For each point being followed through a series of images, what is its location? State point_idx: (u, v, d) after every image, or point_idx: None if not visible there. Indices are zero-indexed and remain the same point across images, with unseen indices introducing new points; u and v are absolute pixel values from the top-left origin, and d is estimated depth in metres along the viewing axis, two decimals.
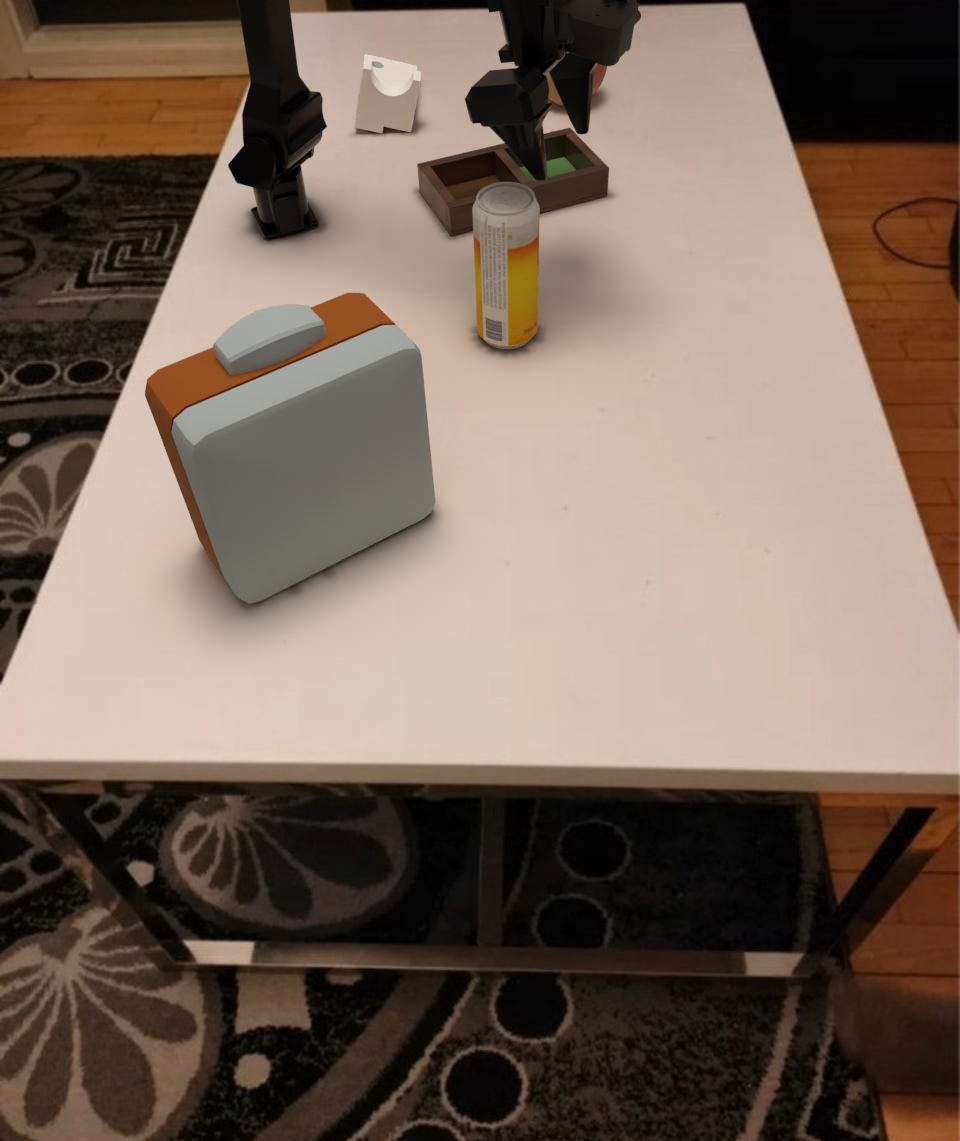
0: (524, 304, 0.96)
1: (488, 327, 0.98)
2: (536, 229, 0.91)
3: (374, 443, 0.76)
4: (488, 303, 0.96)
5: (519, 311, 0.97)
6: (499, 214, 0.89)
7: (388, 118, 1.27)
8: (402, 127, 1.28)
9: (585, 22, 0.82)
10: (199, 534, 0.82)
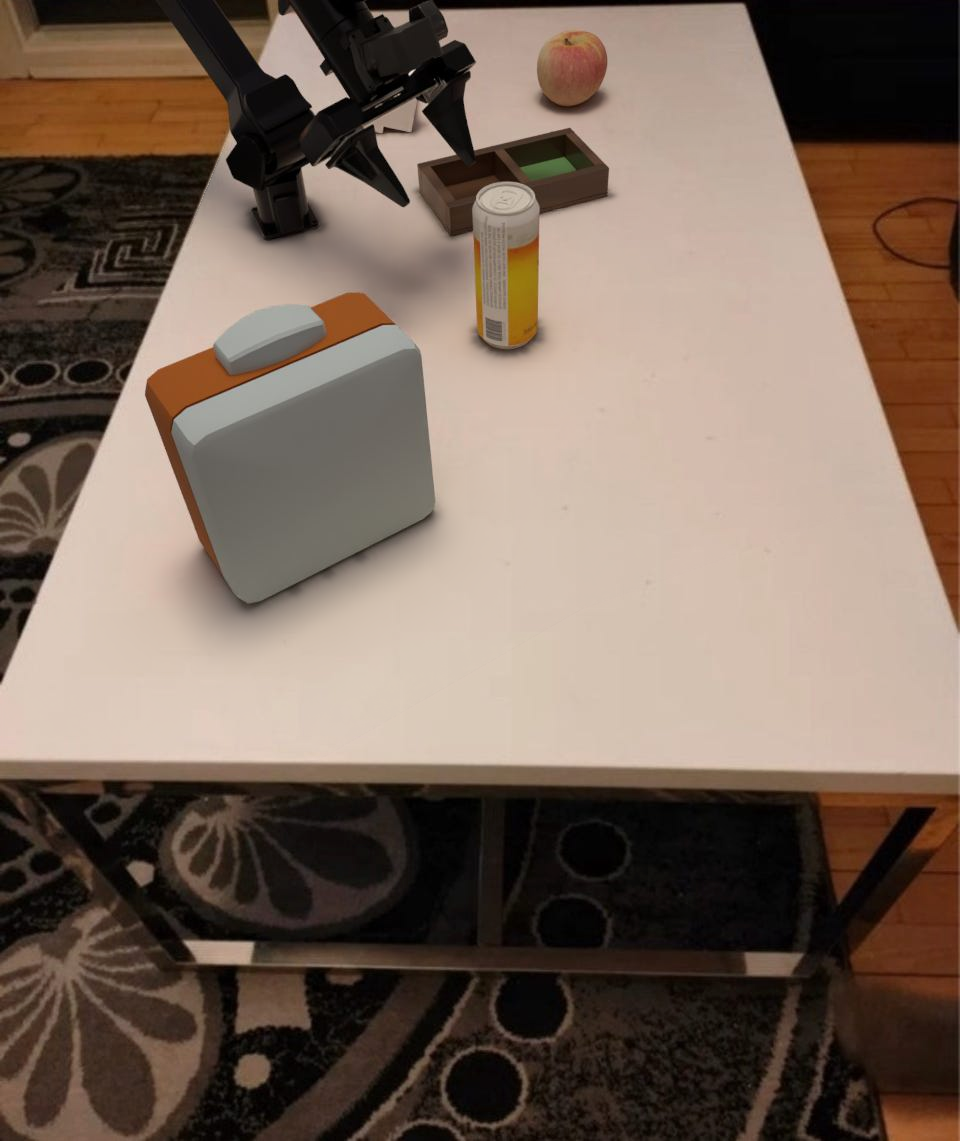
0: (524, 304, 0.96)
1: (488, 327, 0.98)
2: (535, 229, 0.91)
3: (374, 443, 0.76)
4: (488, 303, 0.96)
5: (519, 311, 0.97)
6: (499, 214, 0.89)
7: (388, 118, 1.27)
8: (402, 127, 1.28)
9: (376, 41, 0.86)
10: (199, 534, 0.82)
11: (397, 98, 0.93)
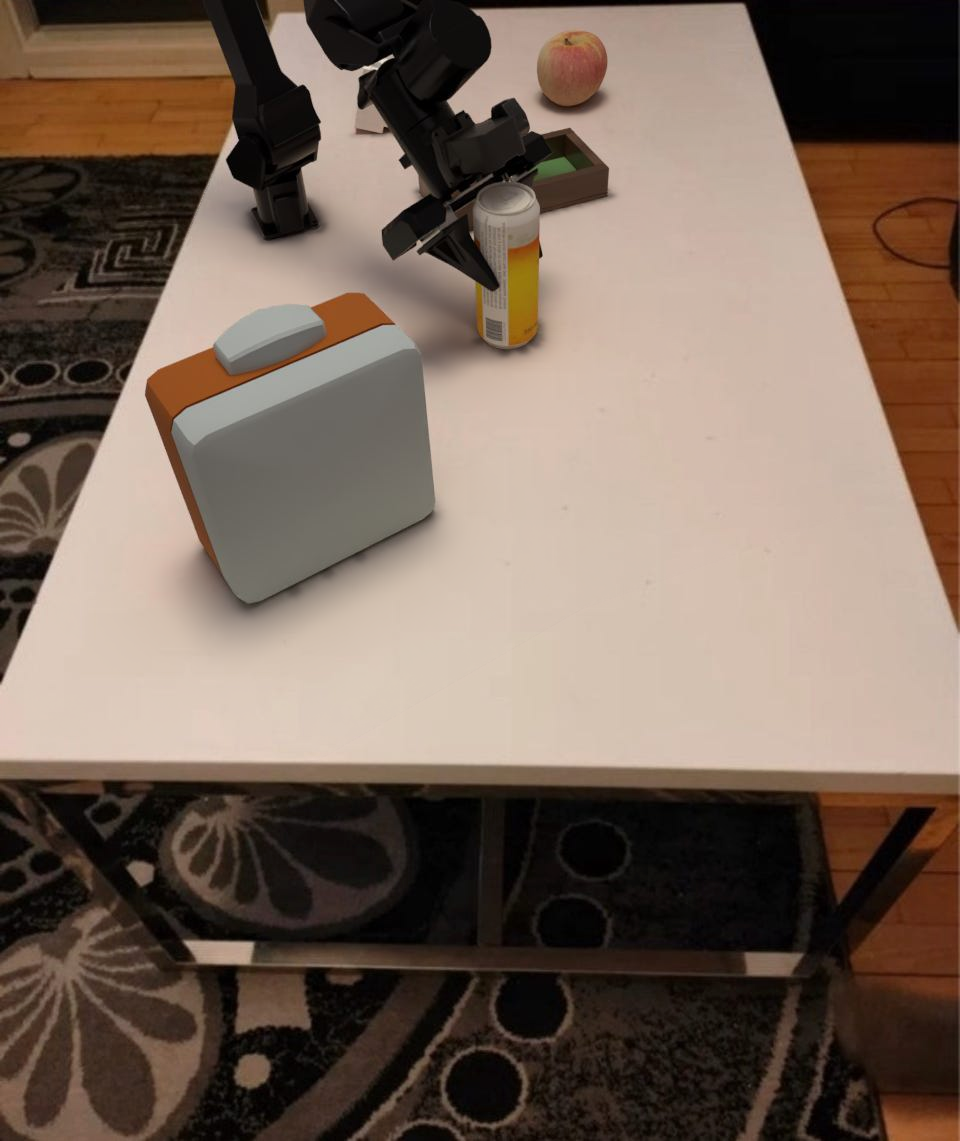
0: (524, 304, 0.96)
1: (489, 327, 0.99)
2: (536, 229, 0.91)
3: (374, 443, 0.76)
4: (489, 303, 0.96)
5: (519, 311, 0.97)
6: (499, 214, 0.89)
7: None
8: None
9: (460, 141, 0.87)
10: (199, 534, 0.82)
11: (466, 197, 0.93)
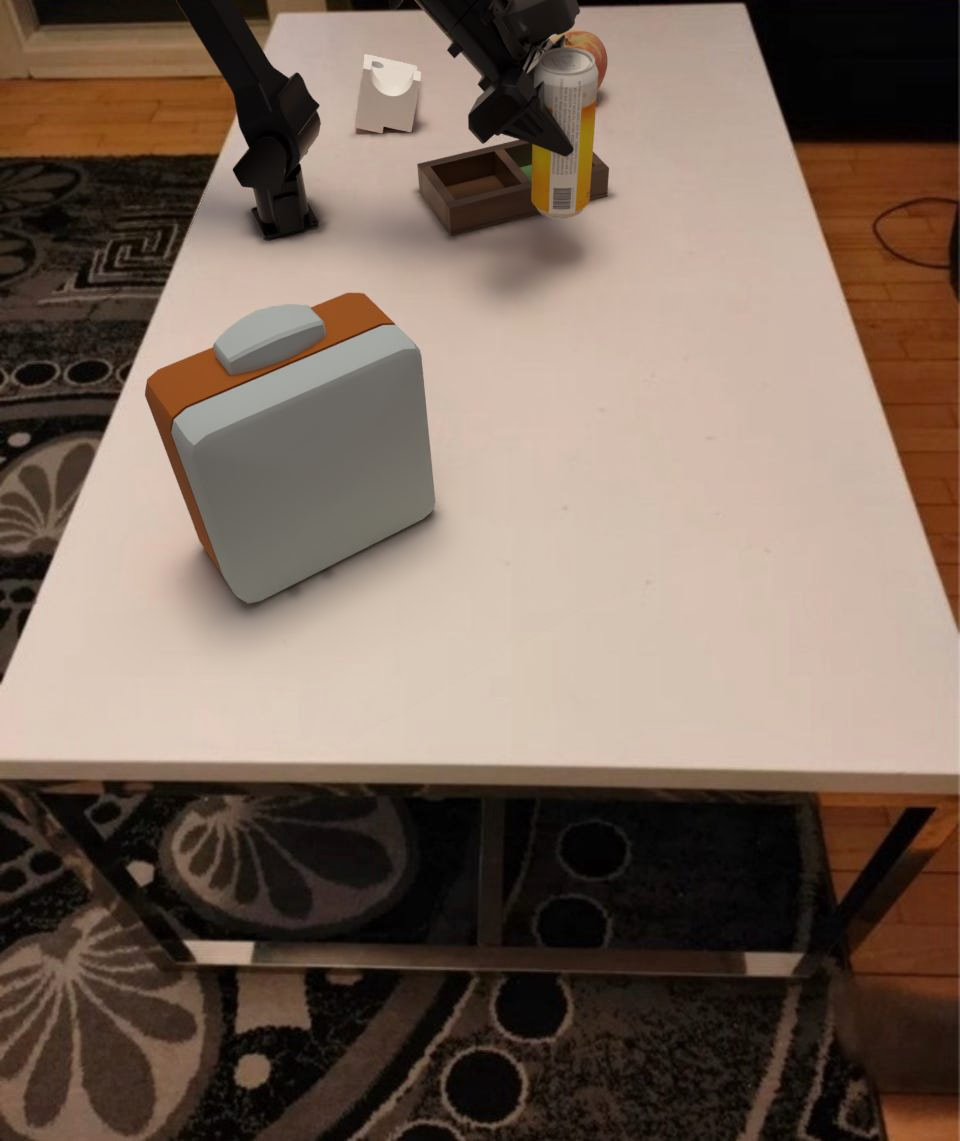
0: (588, 164, 1.01)
1: (557, 198, 1.02)
2: None
3: (374, 443, 0.76)
4: (558, 172, 1.00)
5: (585, 173, 1.01)
6: (574, 73, 0.93)
7: (388, 118, 1.27)
8: (402, 127, 1.28)
9: (530, 8, 0.90)
10: (199, 534, 0.82)
11: None
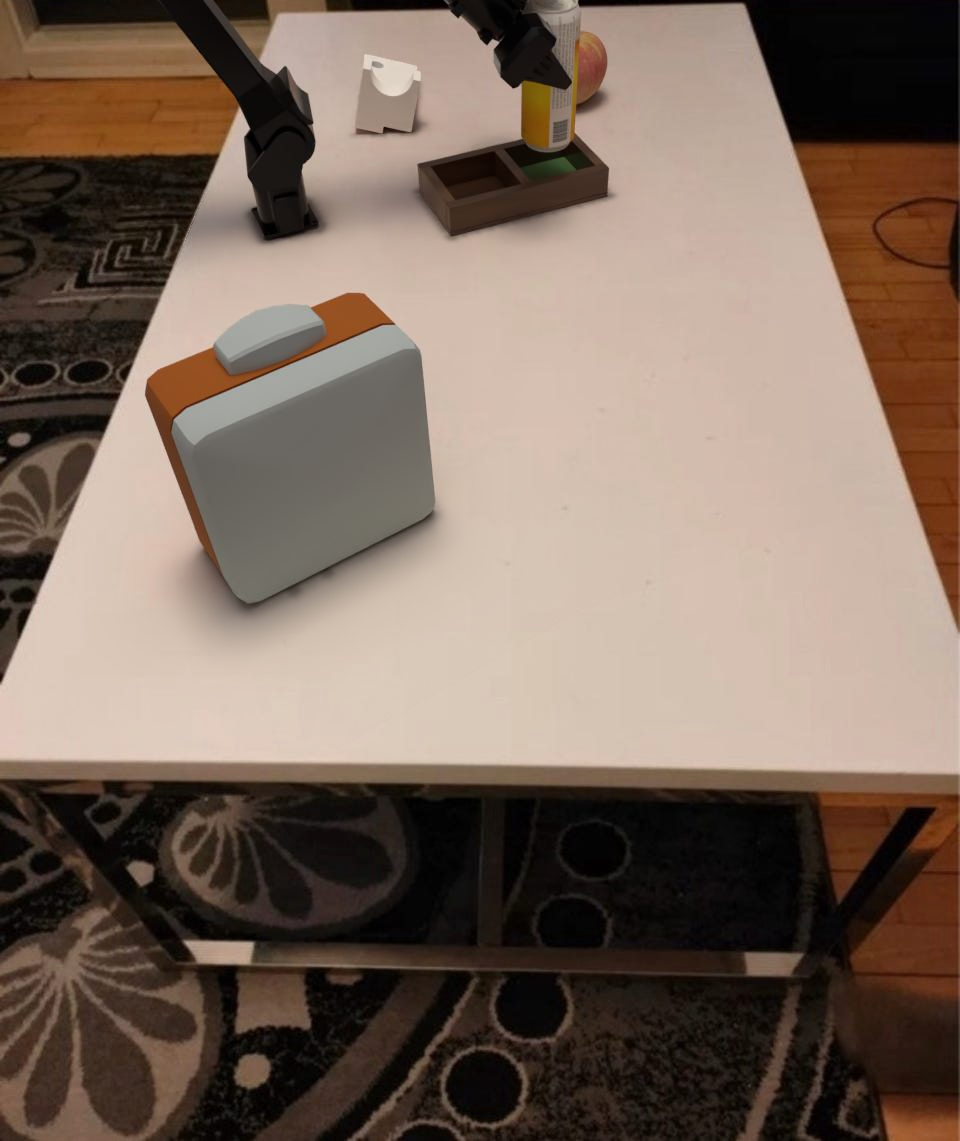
0: (576, 95, 1.11)
1: (556, 131, 1.12)
2: None
3: (374, 443, 0.76)
4: (558, 106, 1.10)
5: (575, 103, 1.11)
6: (569, 10, 1.03)
7: (388, 118, 1.27)
8: (402, 127, 1.28)
9: None
10: (199, 534, 0.82)
11: (513, 20, 1.04)
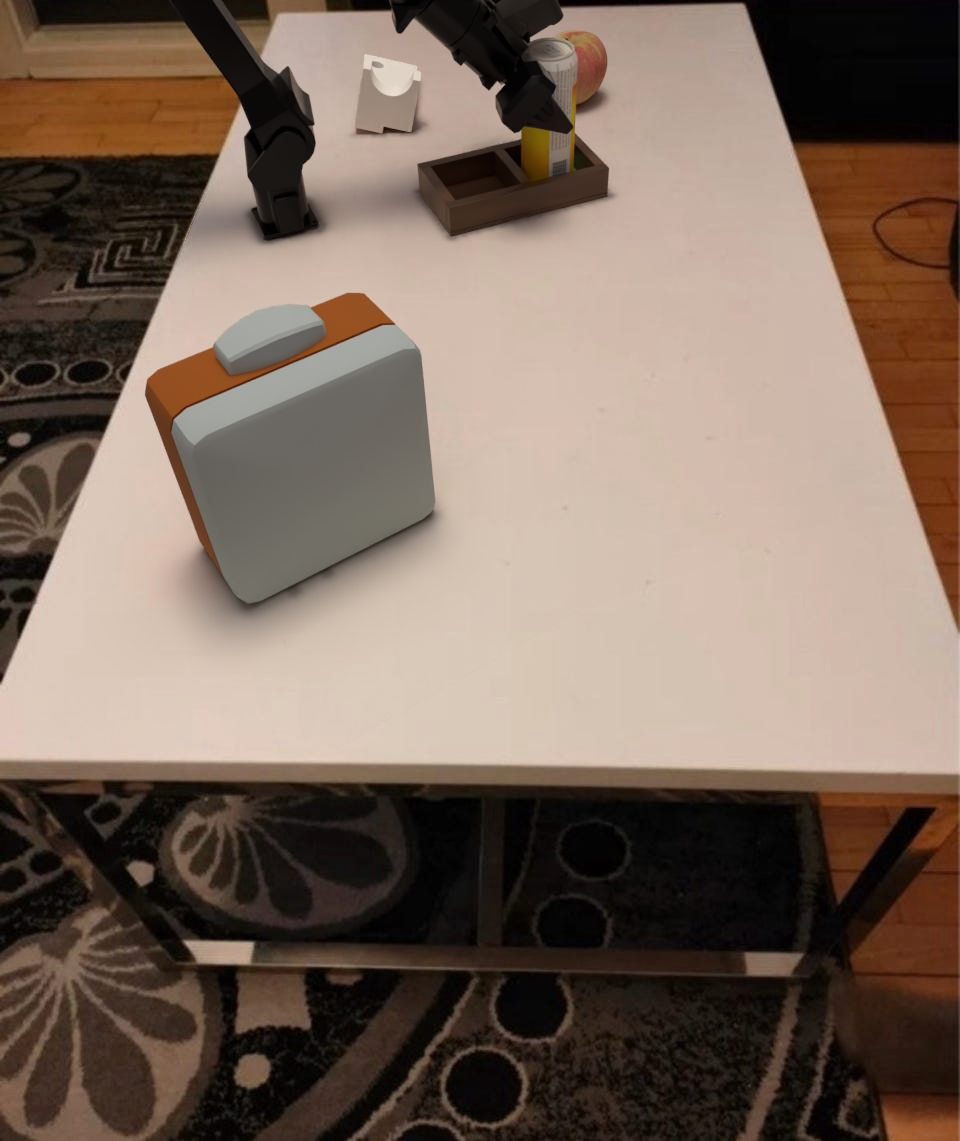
0: (574, 135, 1.15)
1: (555, 171, 1.15)
2: None
3: (374, 443, 0.76)
4: (557, 147, 1.13)
5: (573, 143, 1.15)
6: (566, 57, 1.06)
7: (388, 118, 1.27)
8: (402, 127, 1.28)
9: (529, 7, 1.02)
10: (199, 534, 0.82)
11: None
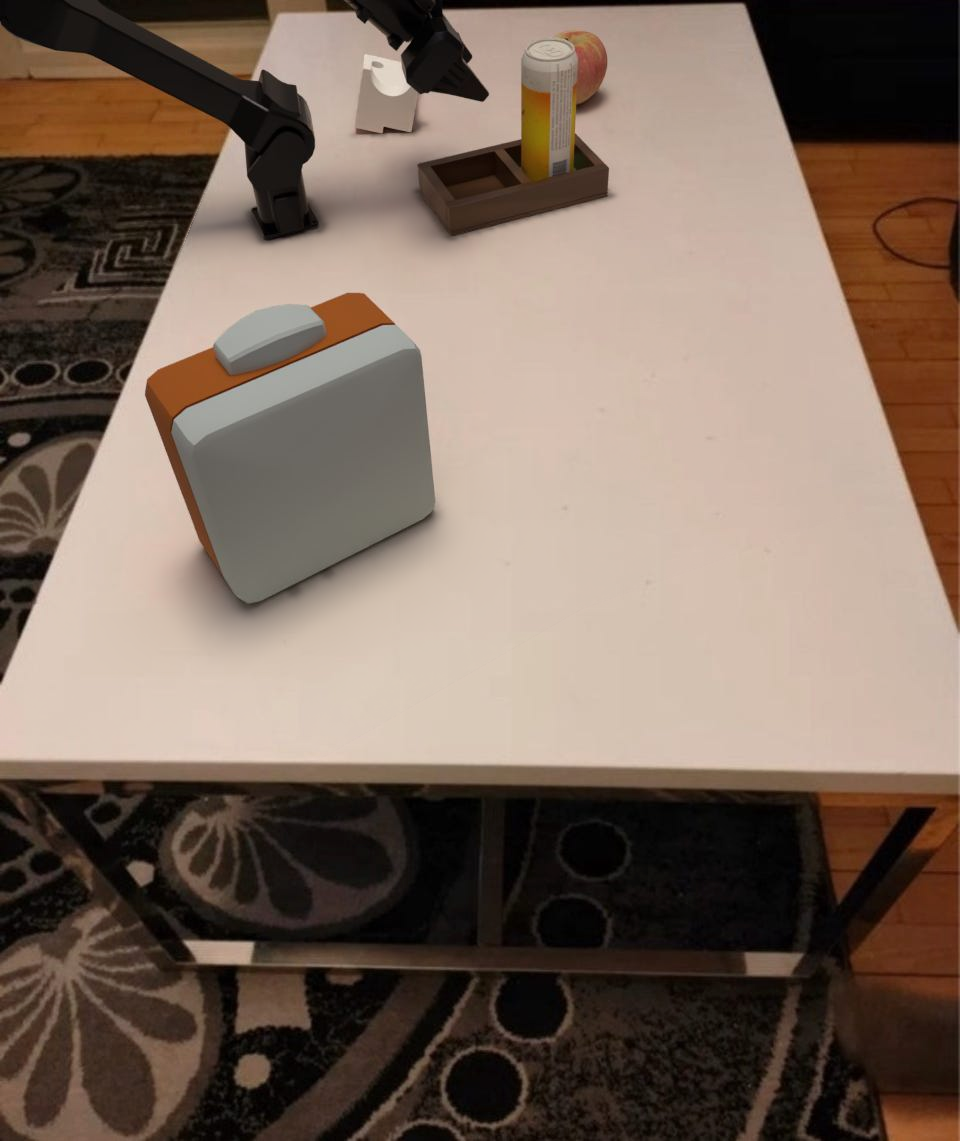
0: (574, 135, 1.15)
1: (555, 171, 1.15)
2: None
3: (374, 443, 0.76)
4: (557, 147, 1.13)
5: (573, 143, 1.15)
6: (566, 57, 1.06)
7: (388, 118, 1.27)
8: (402, 127, 1.28)
9: None
10: (199, 534, 0.82)
11: None
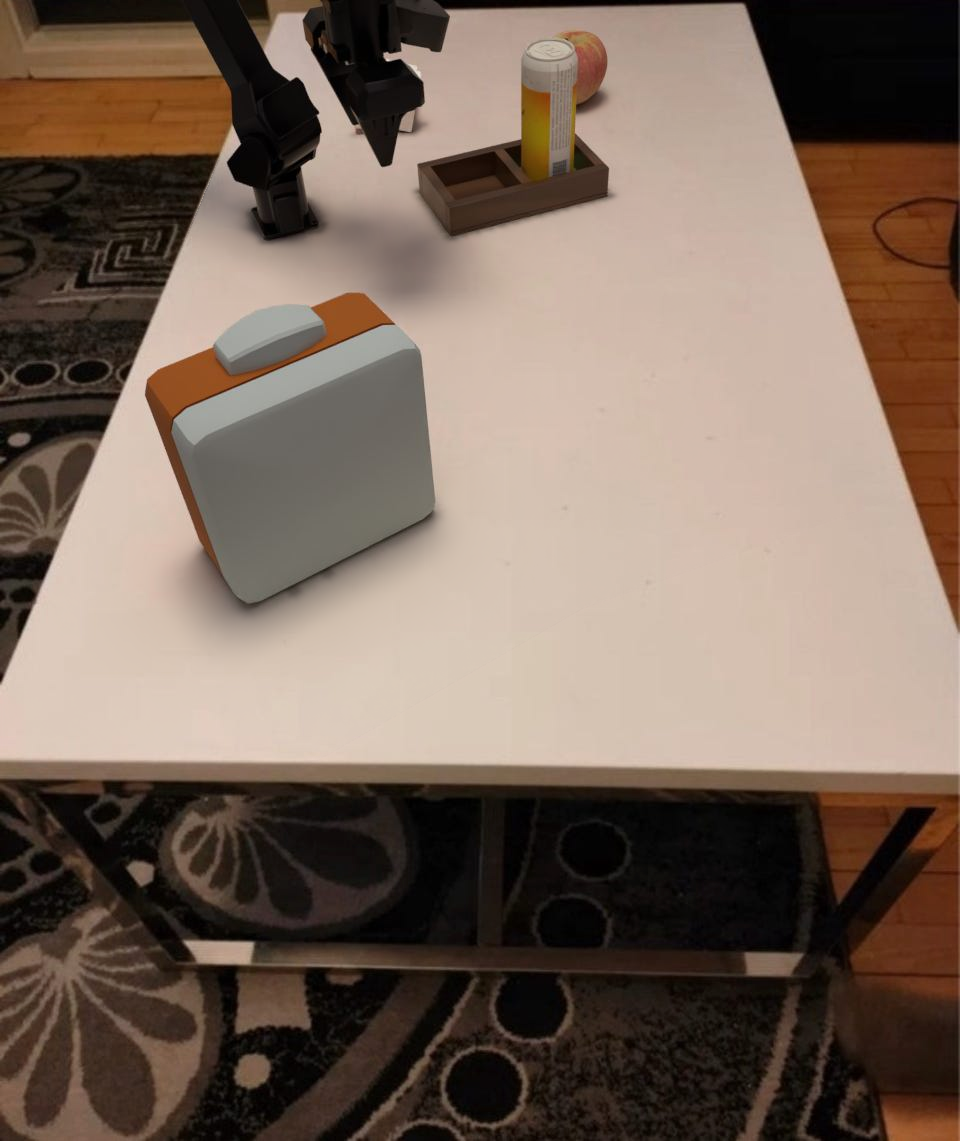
0: (574, 135, 1.15)
1: (555, 171, 1.15)
2: None
3: (374, 443, 0.76)
4: (557, 147, 1.13)
5: (573, 143, 1.15)
6: (566, 57, 1.06)
7: None
8: (402, 127, 1.28)
9: (424, 15, 0.92)
10: (199, 534, 0.82)
11: None
